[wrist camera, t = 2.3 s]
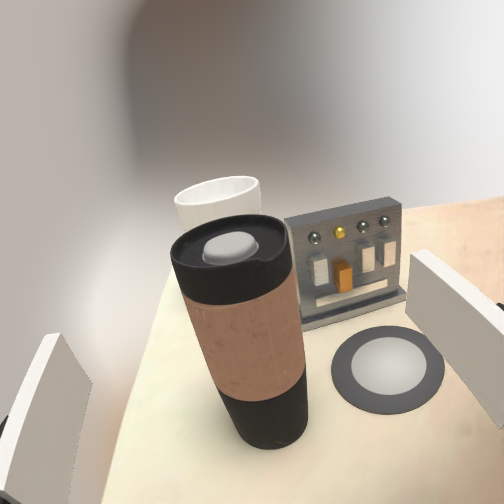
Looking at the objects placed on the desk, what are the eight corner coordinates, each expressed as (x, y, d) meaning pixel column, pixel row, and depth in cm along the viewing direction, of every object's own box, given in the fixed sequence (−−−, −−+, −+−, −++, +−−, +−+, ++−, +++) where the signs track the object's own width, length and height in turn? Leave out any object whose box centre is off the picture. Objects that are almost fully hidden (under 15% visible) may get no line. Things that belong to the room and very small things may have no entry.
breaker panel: (390, 284, 45) (392, 193, 39) (408, 302, 40) (414, 205, 34) (288, 313, 44) (274, 218, 38) (298, 336, 39) (285, 235, 33)
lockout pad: (460, 352, 30) (461, 349, 30) (405, 435, 24) (406, 432, 23) (374, 315, 40) (374, 312, 40) (307, 376, 33) (307, 373, 33)
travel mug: (232, 398, 32) (175, 226, 23) (302, 385, 32) (278, 205, 23) (236, 457, 26) (157, 279, 17) (318, 443, 25) (301, 251, 17)
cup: (281, 310, 45) (261, 192, 37) (199, 322, 46) (164, 211, 38) (273, 268, 55) (256, 171, 48) (206, 279, 56) (181, 185, 49)
